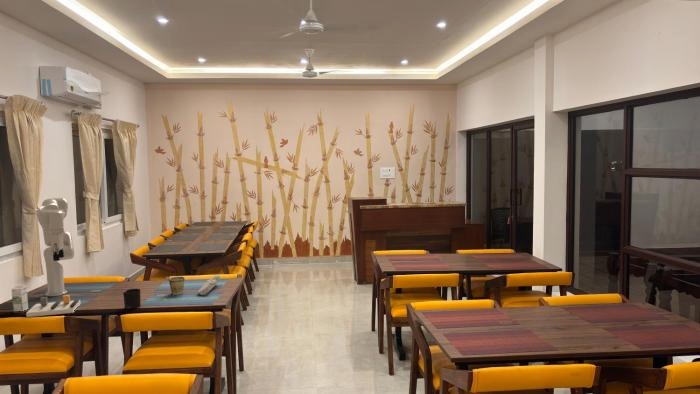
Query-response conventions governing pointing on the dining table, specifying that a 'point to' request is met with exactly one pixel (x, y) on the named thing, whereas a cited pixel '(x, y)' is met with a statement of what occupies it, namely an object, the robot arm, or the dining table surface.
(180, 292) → the ceramic cup
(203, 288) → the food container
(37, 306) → the breaker panel
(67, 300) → the breaker
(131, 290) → the pen holder
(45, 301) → the on breaker
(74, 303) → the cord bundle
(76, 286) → the dining table surface
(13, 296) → the syrup box
